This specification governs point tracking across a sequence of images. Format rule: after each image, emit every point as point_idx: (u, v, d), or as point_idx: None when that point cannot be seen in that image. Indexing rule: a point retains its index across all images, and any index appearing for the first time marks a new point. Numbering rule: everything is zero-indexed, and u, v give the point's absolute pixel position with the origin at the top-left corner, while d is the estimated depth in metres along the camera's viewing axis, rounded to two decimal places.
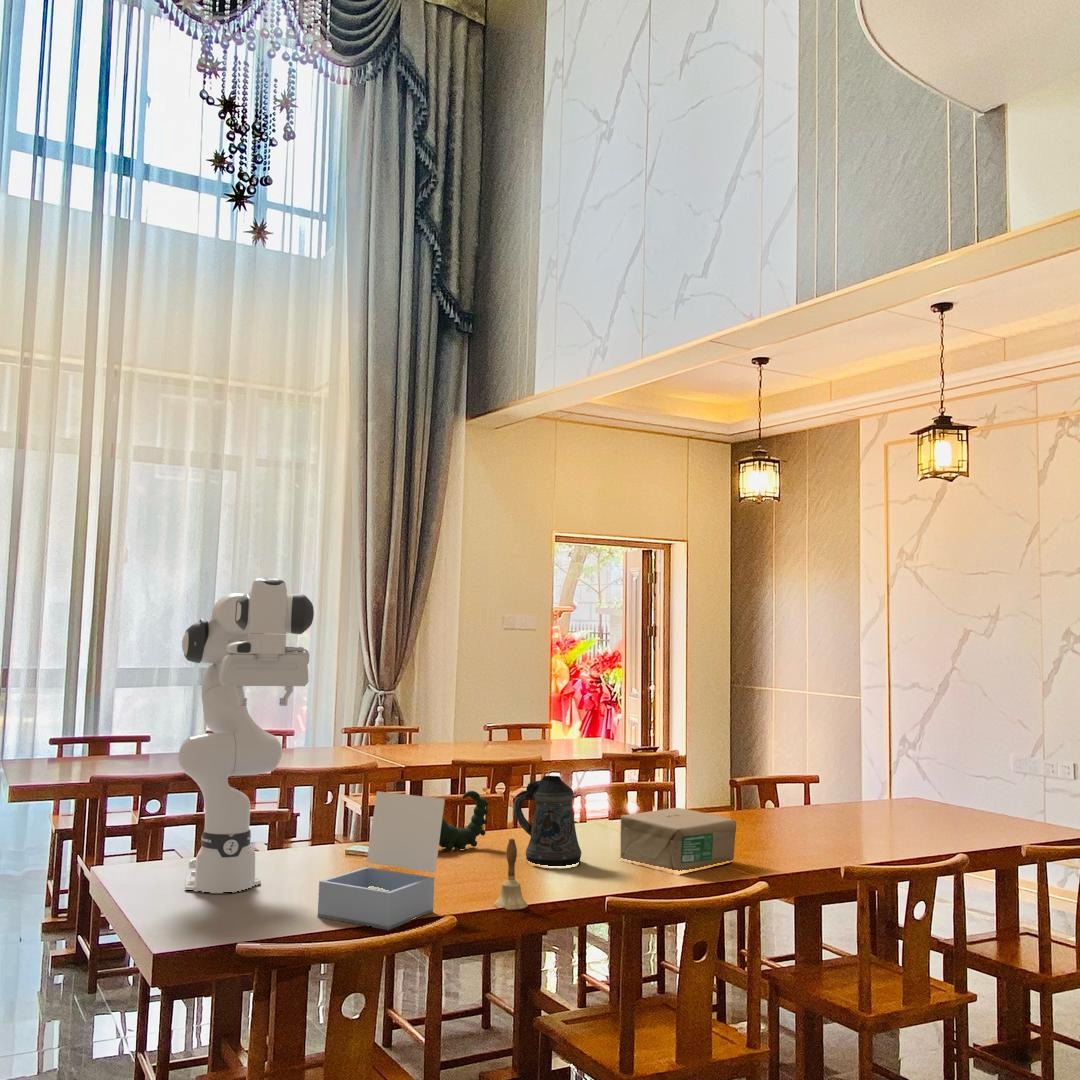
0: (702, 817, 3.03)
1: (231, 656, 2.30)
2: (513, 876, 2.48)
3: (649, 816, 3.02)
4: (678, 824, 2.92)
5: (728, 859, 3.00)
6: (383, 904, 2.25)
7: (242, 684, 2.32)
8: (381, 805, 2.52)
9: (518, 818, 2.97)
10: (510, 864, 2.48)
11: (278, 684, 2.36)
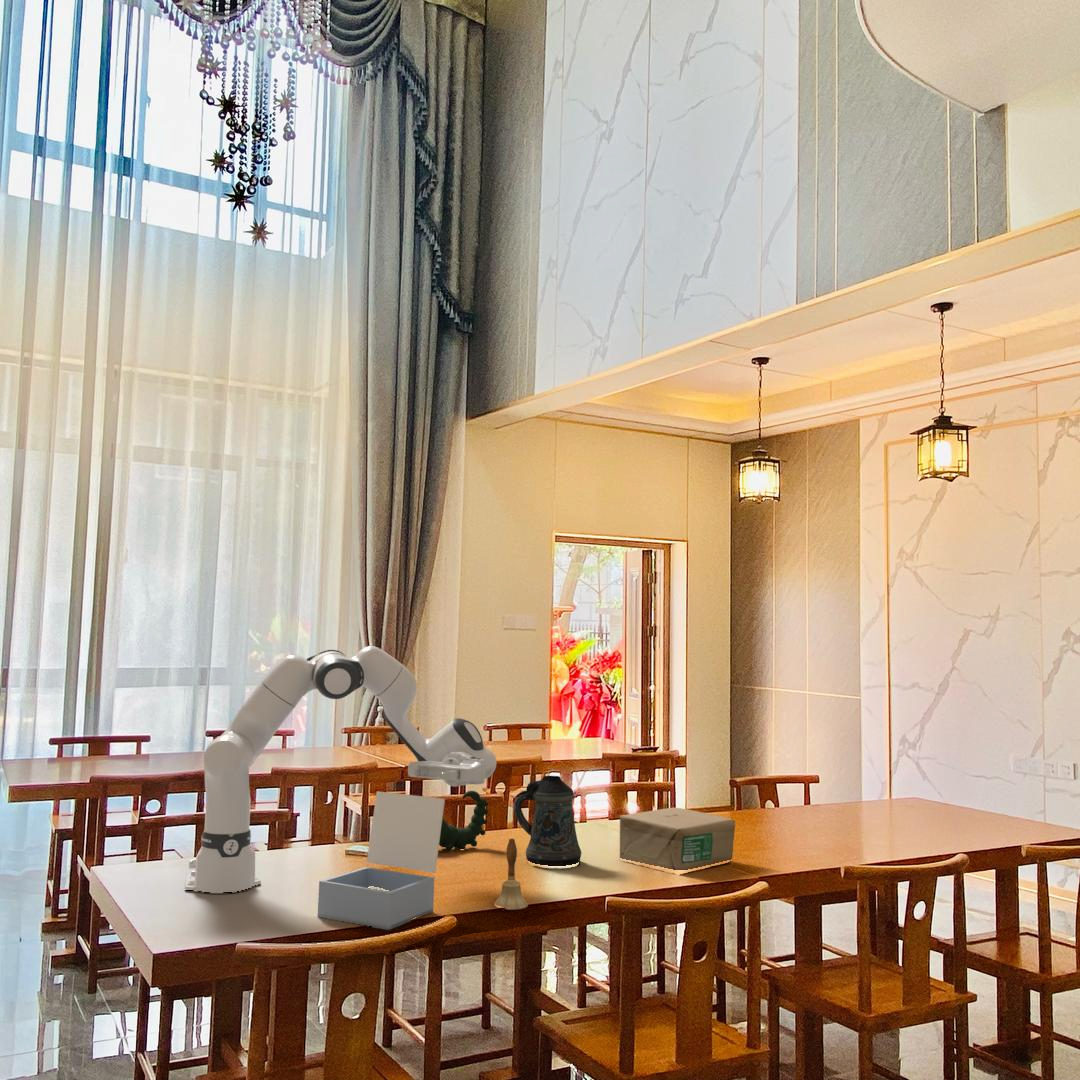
0: (701, 817, 3.04)
1: None
2: (513, 876, 2.48)
3: (648, 816, 3.03)
4: (678, 824, 2.92)
5: (727, 858, 3.00)
6: (383, 904, 2.25)
7: (456, 781, 2.58)
8: (381, 805, 2.52)
9: (518, 818, 2.97)
10: (510, 864, 2.48)
11: (429, 778, 2.62)
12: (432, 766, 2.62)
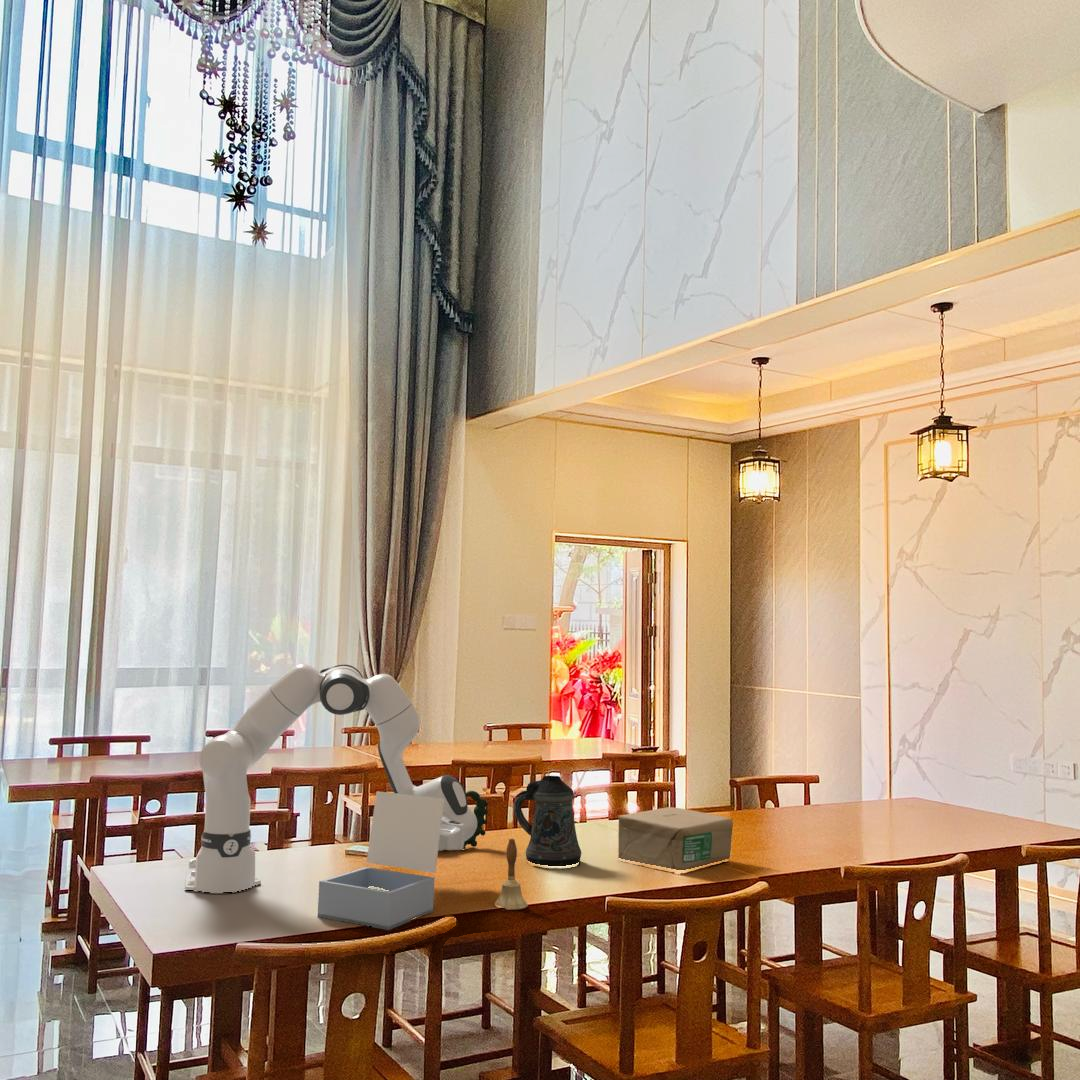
0: (699, 816, 3.05)
1: None
2: (513, 876, 2.48)
3: (647, 816, 3.03)
4: (678, 824, 2.93)
5: (725, 857, 3.02)
6: (383, 904, 2.25)
7: None
8: (381, 805, 2.52)
9: (518, 818, 2.97)
10: (510, 864, 2.48)
11: None
12: None
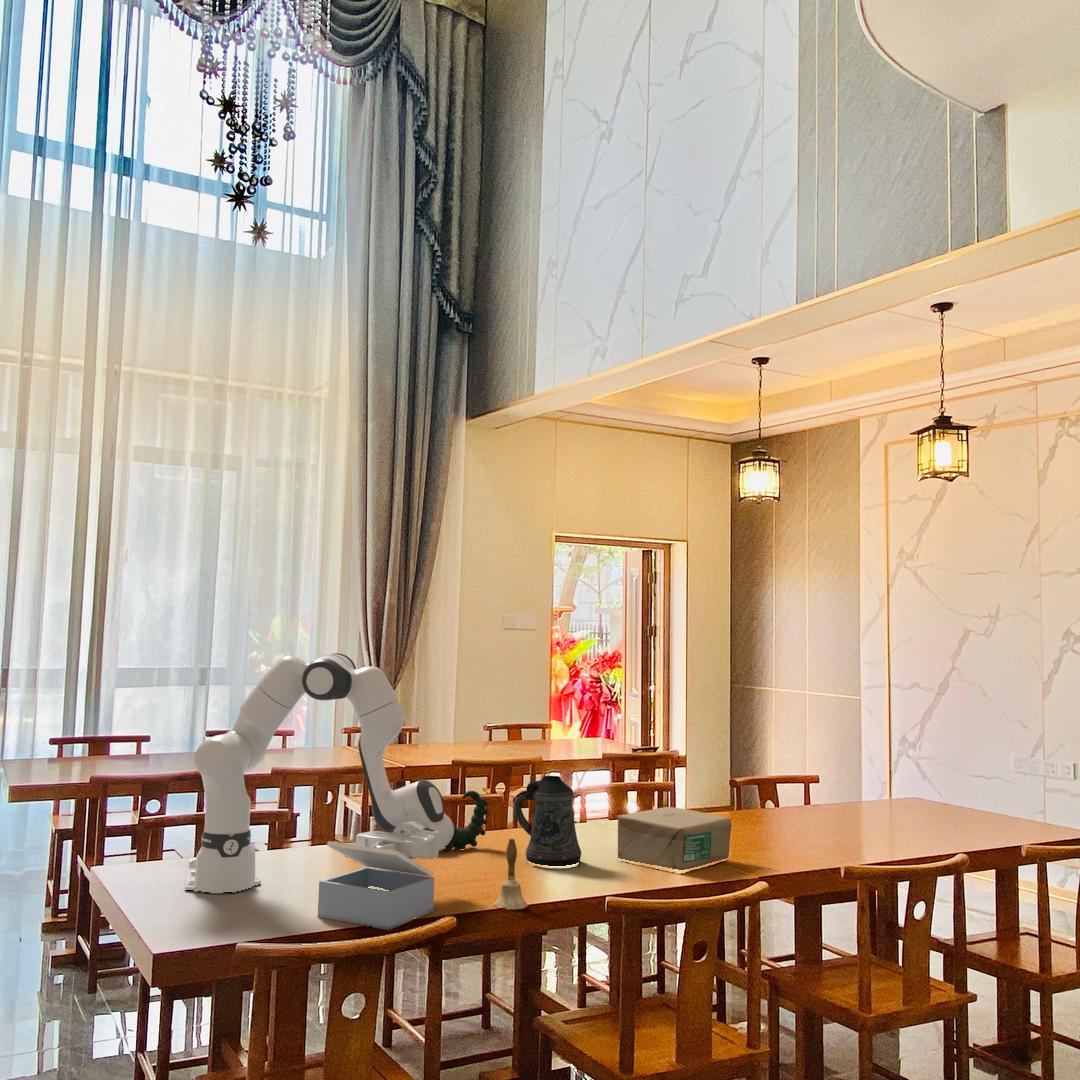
0: (698, 816, 3.05)
1: None
2: (513, 876, 2.48)
3: (646, 816, 3.03)
4: (678, 823, 2.93)
5: (724, 857, 3.02)
6: (383, 904, 2.25)
7: (407, 856, 2.38)
8: (341, 850, 2.37)
9: (518, 818, 2.97)
10: (510, 864, 2.48)
11: None
12: (381, 839, 2.42)
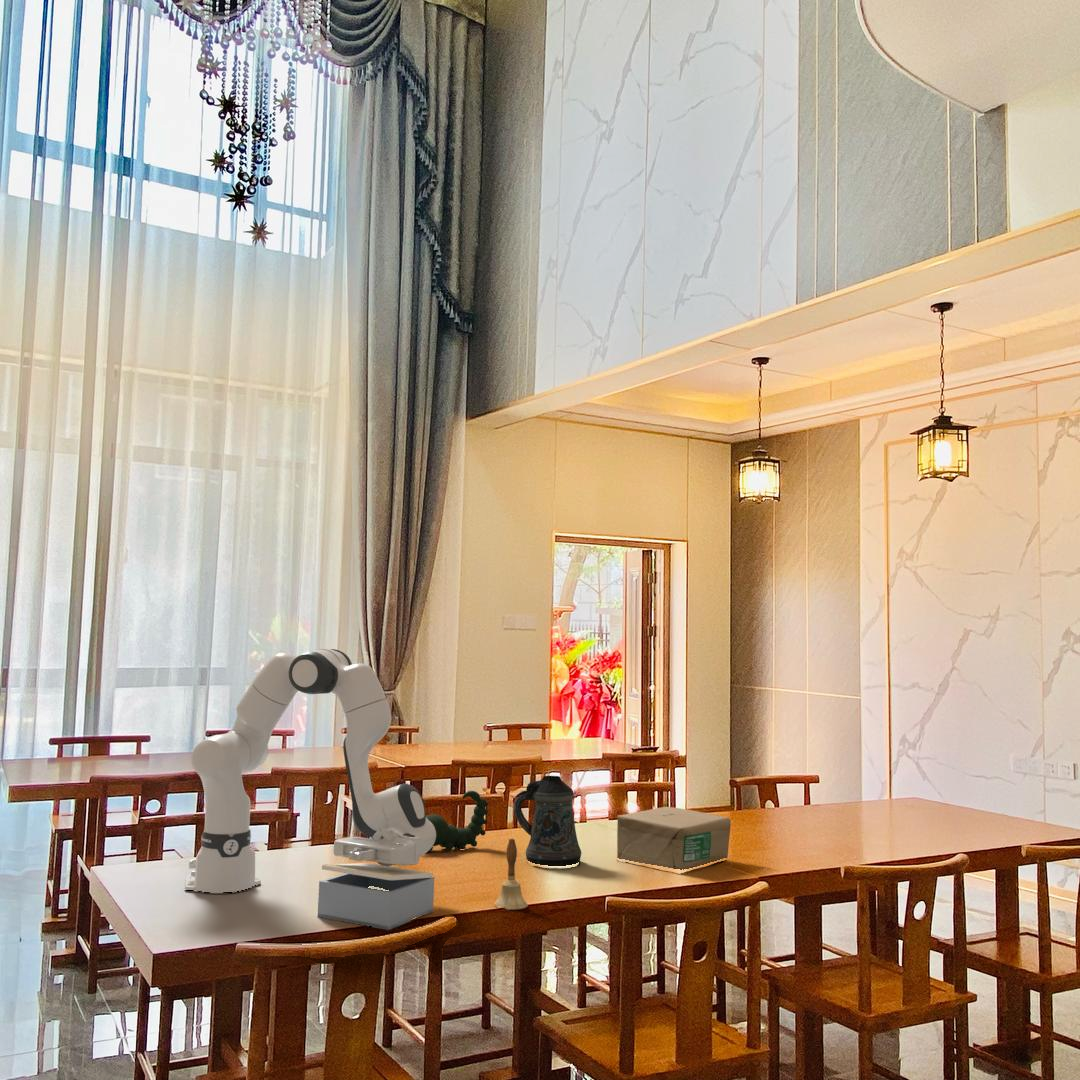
0: (697, 816, 3.05)
1: None
2: (513, 876, 2.48)
3: (646, 816, 3.03)
4: (678, 823, 2.93)
5: (723, 857, 3.03)
6: (383, 904, 2.25)
7: (386, 863, 2.31)
8: None
9: (518, 818, 2.97)
10: (510, 864, 2.48)
11: None
12: (360, 845, 2.34)
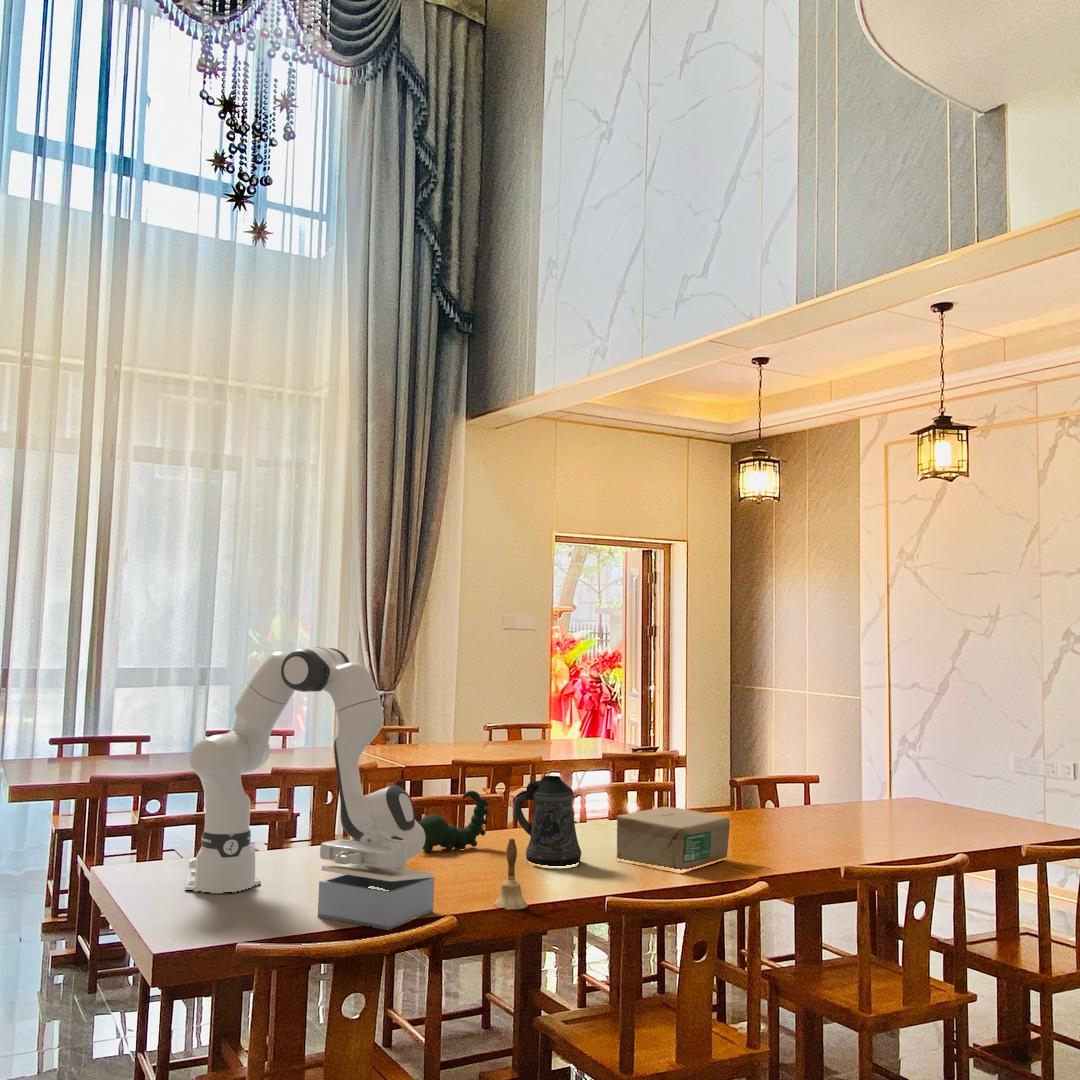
0: (697, 815, 3.06)
1: None
2: (513, 876, 2.48)
3: (646, 816, 3.03)
4: (678, 823, 2.94)
5: (722, 856, 3.03)
6: (383, 904, 2.25)
7: (372, 866, 2.26)
8: None
9: (518, 818, 2.97)
10: (510, 864, 2.48)
11: None
12: (346, 848, 2.30)
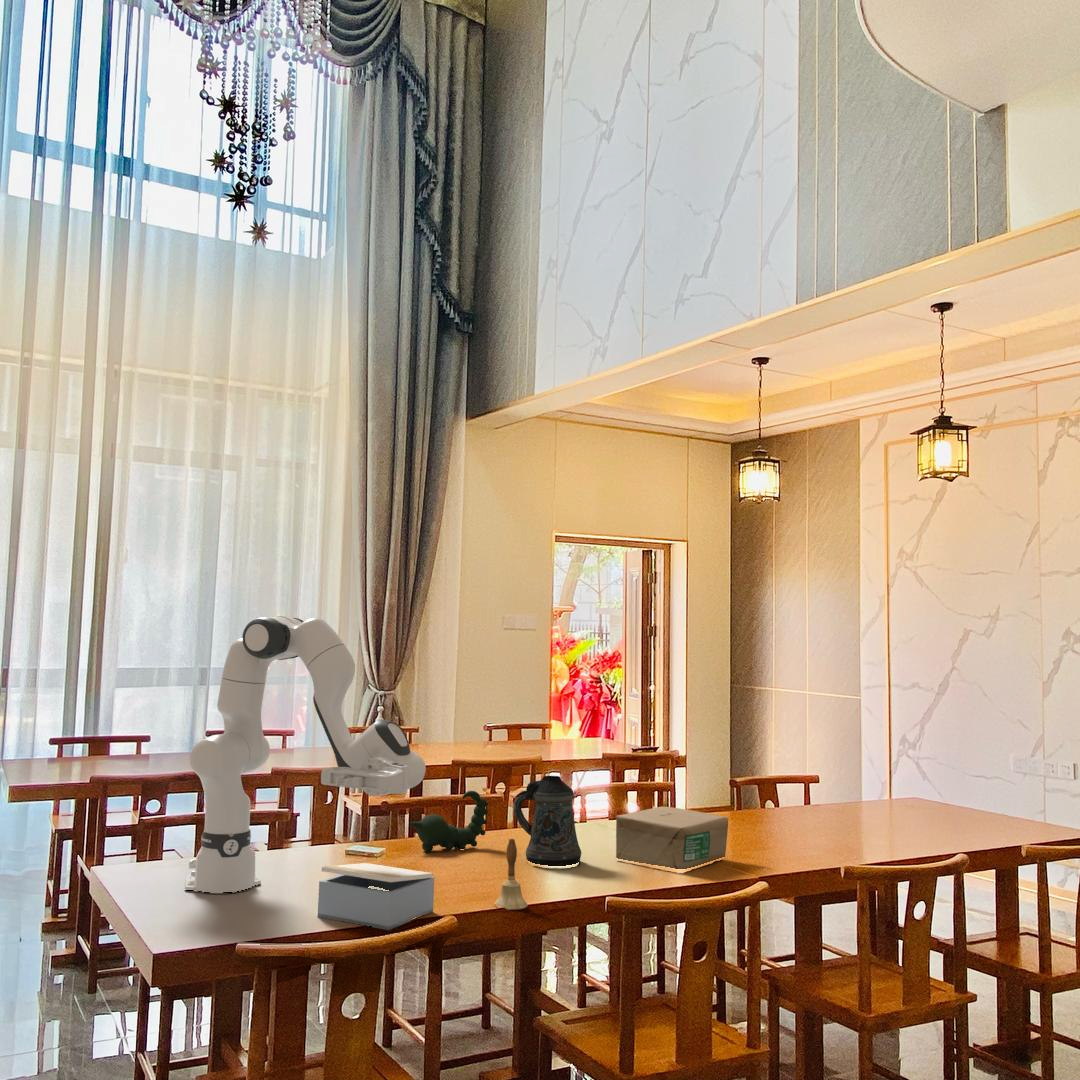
0: (695, 815, 3.06)
1: (400, 791, 2.32)
2: (513, 876, 2.48)
3: (645, 816, 3.03)
4: (678, 823, 2.94)
5: (721, 856, 3.04)
6: (383, 904, 2.25)
7: (373, 790, 2.27)
8: None
9: (518, 818, 2.97)
10: (510, 864, 2.48)
11: None
12: (347, 773, 2.31)
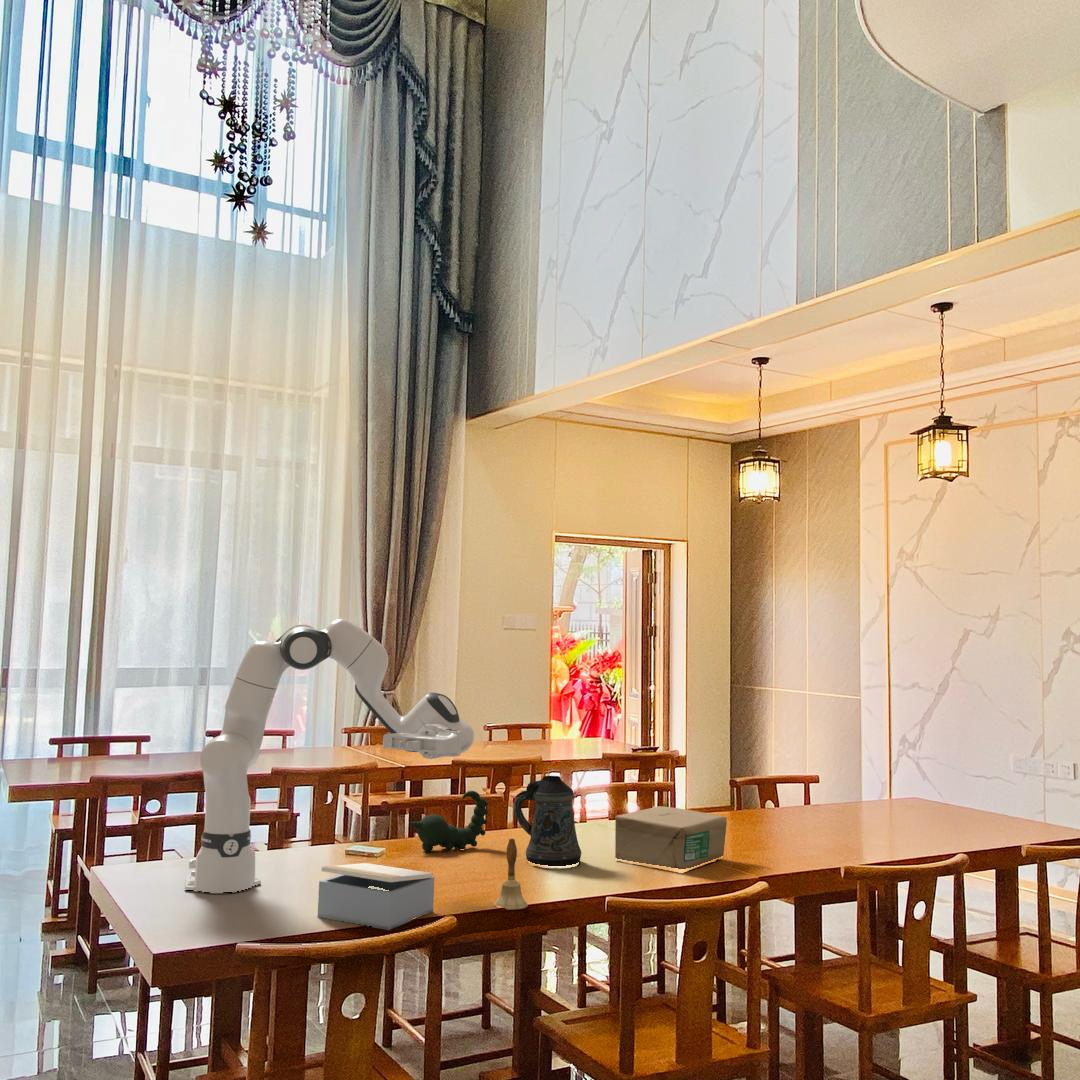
0: (694, 815, 3.07)
1: (455, 754, 2.57)
2: (513, 876, 2.48)
3: (644, 815, 3.03)
4: (678, 823, 2.94)
5: (719, 855, 3.05)
6: (383, 904, 2.25)
7: (431, 752, 2.53)
8: None
9: (518, 818, 2.97)
10: (510, 864, 2.48)
11: None
12: (407, 737, 2.56)
